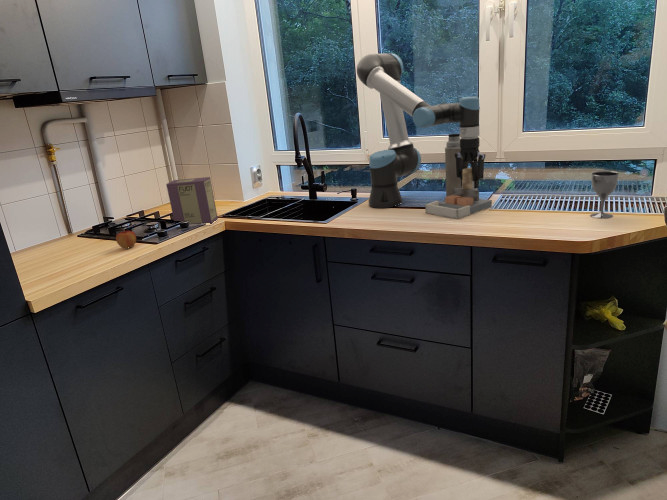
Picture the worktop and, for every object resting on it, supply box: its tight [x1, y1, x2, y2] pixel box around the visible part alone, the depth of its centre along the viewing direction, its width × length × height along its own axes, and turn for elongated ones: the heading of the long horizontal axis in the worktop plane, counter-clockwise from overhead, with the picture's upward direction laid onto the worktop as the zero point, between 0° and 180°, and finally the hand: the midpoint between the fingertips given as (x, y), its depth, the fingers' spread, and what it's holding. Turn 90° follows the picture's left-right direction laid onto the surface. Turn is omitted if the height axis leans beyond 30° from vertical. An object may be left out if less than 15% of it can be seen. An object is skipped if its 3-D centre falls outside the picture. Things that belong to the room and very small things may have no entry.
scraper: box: [452, 167, 480, 201], centre depth 192 cm, size 12×6×12 cm, turn 37°
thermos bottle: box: [444, 133, 462, 197], centre depth 208 cm, size 8×8×28 cm
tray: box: [424, 200, 471, 220], centre depth 187 cm, size 16×7×4 cm, turn 37°
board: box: [439, 198, 493, 215], centre depth 193 cm, size 16×14×3 cm
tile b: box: [457, 197, 473, 206], centre depth 188 cm, size 4×4×2 cm
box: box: [165, 176, 219, 224], centre depth 211 cm, size 17×9×20 cm, turn 86°
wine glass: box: [589, 170, 620, 220], centre depth 163 cm, size 8×8×15 cm
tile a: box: [444, 195, 461, 204], centre depth 193 cm, size 4×4×2 cm
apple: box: [115, 228, 137, 249], centre depth 187 cm, size 7×7×8 cm
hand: (469, 195), depth 194 cm, fingers closed on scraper, 4 cm apart
